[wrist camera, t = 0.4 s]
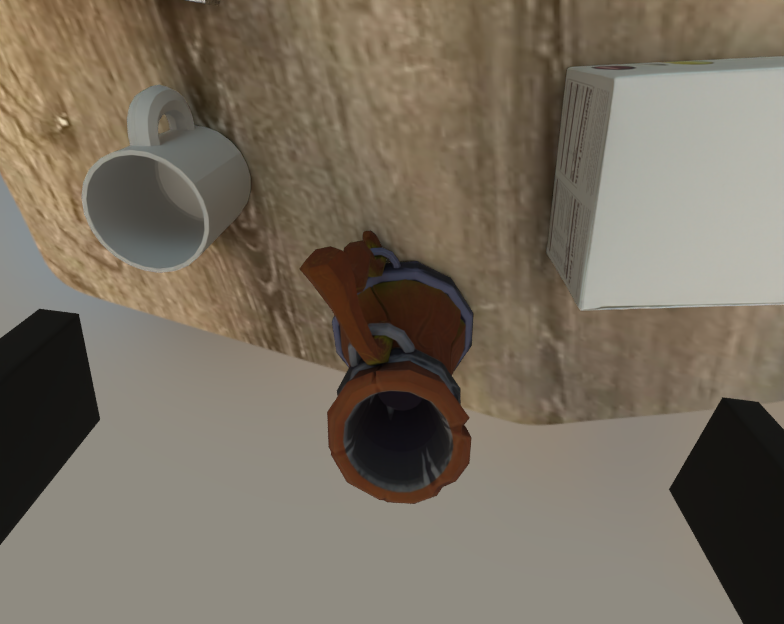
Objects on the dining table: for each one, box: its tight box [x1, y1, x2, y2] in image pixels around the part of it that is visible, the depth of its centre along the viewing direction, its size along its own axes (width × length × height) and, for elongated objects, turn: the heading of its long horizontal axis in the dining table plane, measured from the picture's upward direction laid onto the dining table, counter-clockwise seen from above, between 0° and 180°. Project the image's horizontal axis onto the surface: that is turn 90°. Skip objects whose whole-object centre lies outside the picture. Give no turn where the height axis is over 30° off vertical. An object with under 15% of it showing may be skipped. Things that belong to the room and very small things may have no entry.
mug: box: [300, 231, 473, 504], centre depth 34 cm, size 18×12×15 cm, turn 18°
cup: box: [82, 85, 251, 273], centre depth 32 cm, size 7×10×9 cm
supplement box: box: [546, 56, 784, 311], centre depth 31 cm, size 17×13×9 cm
